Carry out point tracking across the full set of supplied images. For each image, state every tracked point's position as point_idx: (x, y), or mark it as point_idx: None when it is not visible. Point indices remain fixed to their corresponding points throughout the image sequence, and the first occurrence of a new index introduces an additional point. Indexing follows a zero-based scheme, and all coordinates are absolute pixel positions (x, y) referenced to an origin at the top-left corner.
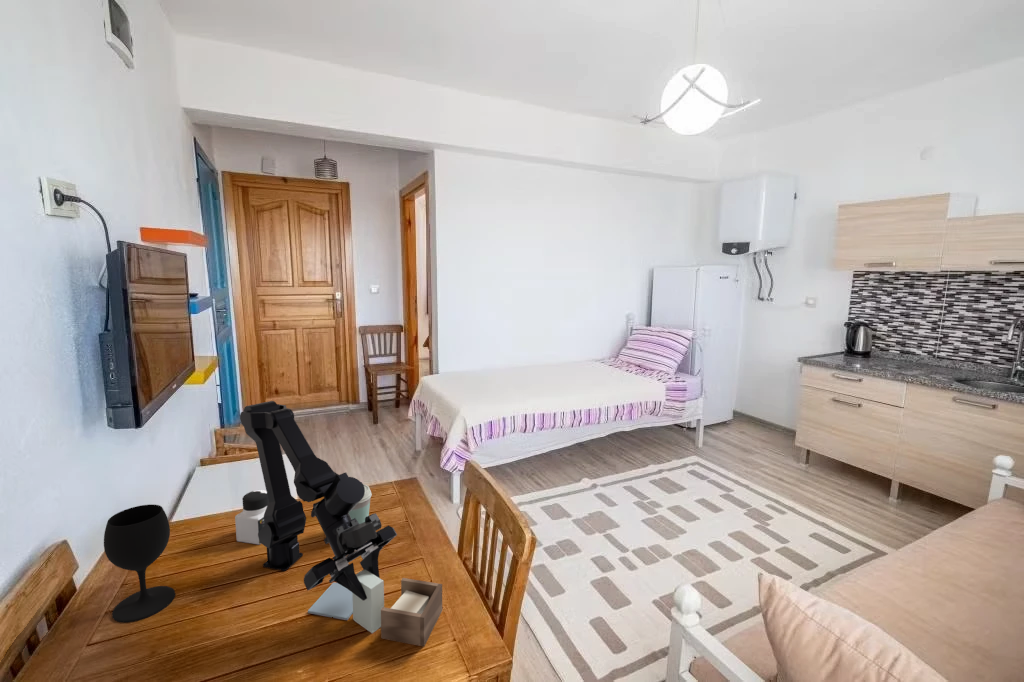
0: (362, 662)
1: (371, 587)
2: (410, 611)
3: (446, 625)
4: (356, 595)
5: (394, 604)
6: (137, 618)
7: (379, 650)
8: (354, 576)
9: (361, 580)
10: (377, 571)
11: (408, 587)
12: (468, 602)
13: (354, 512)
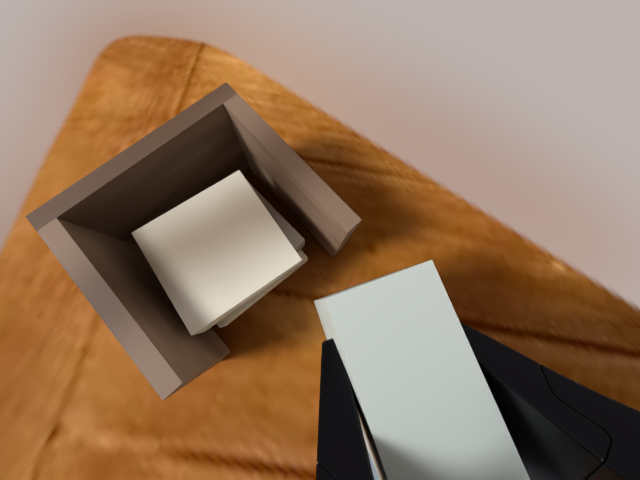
0: (409, 200)
1: (424, 274)
2: (242, 197)
3: None
4: None
5: (278, 272)
6: None
7: (359, 211)
8: (596, 430)
9: (478, 405)
10: (331, 451)
11: (173, 341)
12: (33, 230)
13: None
